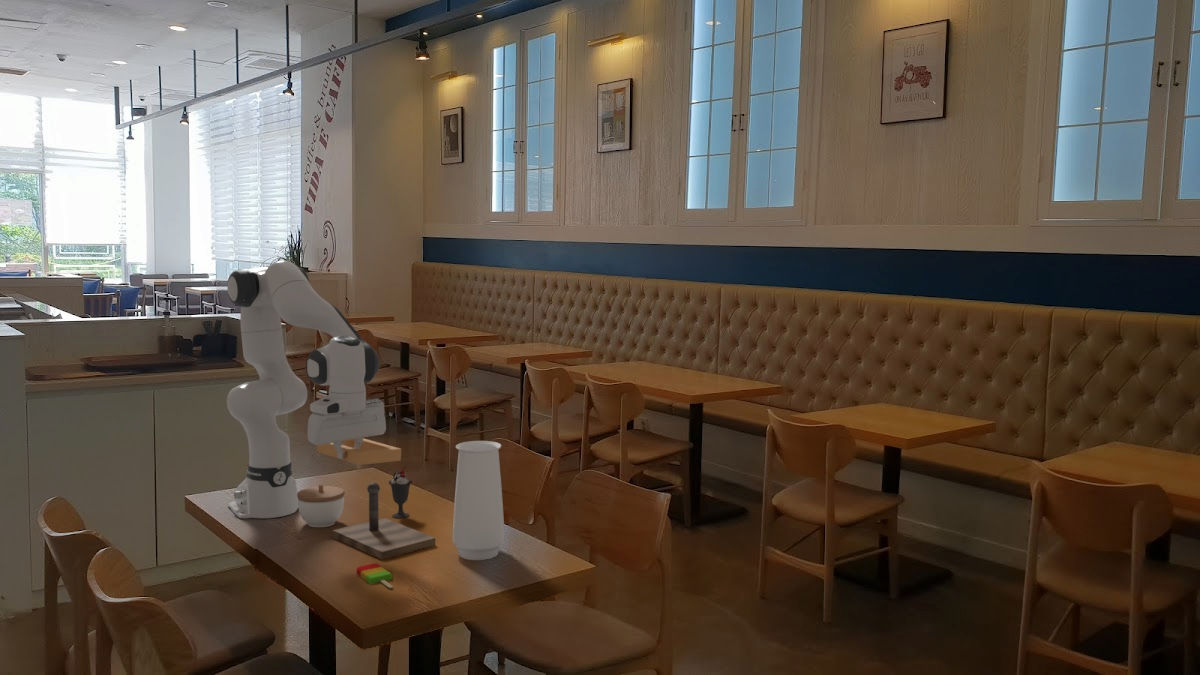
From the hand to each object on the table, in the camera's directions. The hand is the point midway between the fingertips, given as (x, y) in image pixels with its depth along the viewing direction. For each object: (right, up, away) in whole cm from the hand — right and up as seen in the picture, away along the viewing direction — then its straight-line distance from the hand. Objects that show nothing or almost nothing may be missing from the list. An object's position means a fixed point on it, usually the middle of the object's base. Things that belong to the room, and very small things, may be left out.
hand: (348, 457), depth 229 cm
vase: (+32, -25, +5) cm, 41 cm away
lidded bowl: (-15, -22, +28) cm, 39 cm away
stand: (+6, -24, +14) cm, 28 cm away
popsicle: (+11, -28, -14) cm, 33 cm away
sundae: (+5, -22, +36) cm, 42 cm away
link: (+1, -1, +6) cm, 6 cm away
